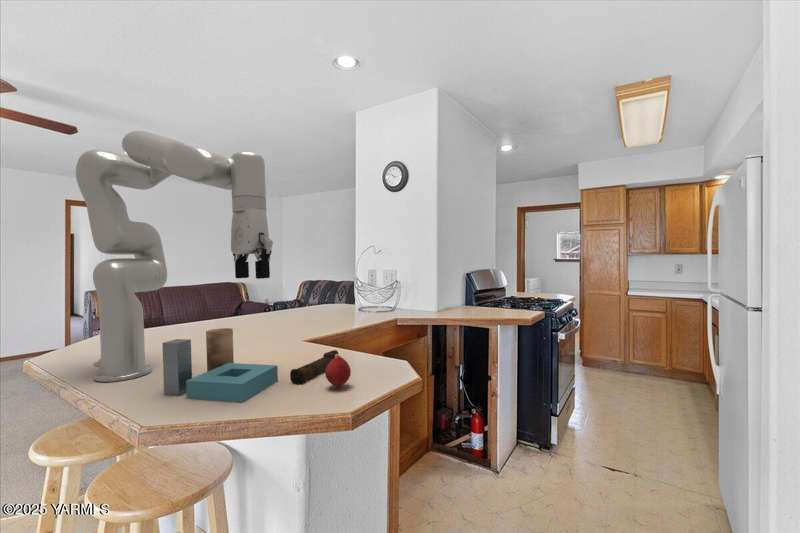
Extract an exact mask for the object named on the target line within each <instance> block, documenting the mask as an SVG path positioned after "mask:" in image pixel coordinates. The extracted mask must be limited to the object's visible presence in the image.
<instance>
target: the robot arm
mask: <svg viewBox="0 0 800 533" xmlns="http://www.w3.org/2000/svg"><path fill="white" fill-rule="evenodd" d="M121 147H122V150H123V152H124V154H121V153H117V152H113V151H110V150H109V151H108V150H102V149H90V150H86V151H85V152H83V153H82V154H81V155H80V156H79V158H78V159H77V163H76V166H75V179H76V184H77V185H78V186H77V187H78V188H79V191H80V193H81V196H82V198H83V200H84V203H85V205H86V210H87V216H88V220H89V221H88V222H89V226H90V232H91V236H92V241H93V243H94V247H95V248H96V250H97V251H98V252H100V253H101V254H106V255H122V256H123V255H127V256H128V255H129V256H133V255H134V257H133V258H129V257H128V258H127V257H126V258H125V257H123V258H120V257H119V258H109V259H105V260H102V261H101V262H99V263H98V264H97V265H96V266H95V268H94V269H93V271H92V281H93V284H94V289H95V292H96V295H97V300H98V313H99V314H98V315H99V335H100V339H99V341H100V358H99V359H98V361H95V362H93V364H92V365H93V367H94V368H98V372H96V373H95V374H94V375H93V378H94V379H93V380H94V381H96V382H101V383H108V382H110V383H111V382H119V381H125V380H131V379H135V378H136V379H137V378H140V377H142V376H146V375H147V374H148V375H149V373H151V372H152V371H153V365H151V364H146V351H145V350H146V348H145V347H146V346H145V323H144V321H145V319H144V309H143V305H142V302H141V300H140V299H139V298H138V297H137V295H136V294H135V293H141V292H142V293H143V292H153V291H157V290H160V289H162V288H163V287H164V286H165V284H166V283H167V279H168V269H167V263H166V258H165V253H164V248H163V243H162V239H161V235H160V233H159V231H158V230H157V229H156V228H155V227H154V226H153V225H151V224H149V223H146V222H142V221H132V220H131V219H130V217H129V213H128V209H127V205H126V202H125V200H124V199H123V198H122V196H121V194H119V192H118V191H117V190H116V189H115V188H114V187H113V186H119V187H122V188H123V187H124V188H131V189H135V190H143V191H144V190H150V189H152V188H154V187H156V186H157V185H159V184H161V183H162V182H163V181H164V180H165V181H166V179H168V178H169V177H172V176H176V177H179V178H182V179H186V180H188V181H192V182H195V183H198V184H203V185H207V186H211V187H215V188H219V189H223V190H229V191H231V206H232V208H231V209H232V217H231V218H232V219H231V227H230V251H231V253H232V256H233V263H234V272H235V273H234V275H235V279H248V278H249V277H250V268H249V267H250V266H249V261H248V259H249V256H250V255H251V254H252V255H254V257H255V259H256V260H255V261H254V263H255V264H254V265H255V267H254V268H255V269H254V270H255V279H257V280H258V279H259V280H260V279H261V280H262V279H270V278H271V273H270V272H271V270H270V261H271V254H272V248H273V244H274V243H273V242H274V241H273V240H272V239H270V236H269V235H270V234H269V225H268V218H267V191H266V190H267V189H266V168H265V167H266V166H265V160H264V158H263V156H262V155H261V154H258V153H256V152H251V151H239V152H235V153H233V154H232V155H231V156H230V157H229V158H228V157H226V156H223V155H221V154H217V153H215V152H212V151H209V150H206V149H202V148H199V147H196V146H193V145H189V144H186V143H184V142H183V141H180V140H176V139H172V138H169V137H166V136H163V135H158V134H155V133H152V132H149V131H146V130H145V131H144V130H134V131H130V132H128V133H126V135H124V137H123V138H122V140H121Z"/></svg>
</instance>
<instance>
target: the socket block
mask: <svg viewBox="0 0 800 533" xmlns="http://www.w3.org/2000/svg"><path fill="white" fill-rule="evenodd" d="M278 368H279V367H278V365H277V364H276V365H275V364H257V363H240V362H239V363H238V362H237V363H235V362H234V363H227V364H225V365H222V366H220V367H218V368H215V369H213V370H210V371H208V372H207V371H206V372H203V373H201V374H199V375H196V376H194V377H192V378H191V379H189V380H186V390H187V393H186V399H188V400H204V401H218V402H231V403H244V402H246V401H248V400H249V399H251V398H252V397H254V396H256V395H258V394H259V393H260V392H262V391H264V390H265V389H267V388H269V387H270V386H272V385H274V384H276V383H277V382H278V381H279V377H278V376H279V375H278V374H279V372H278Z"/></svg>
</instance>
